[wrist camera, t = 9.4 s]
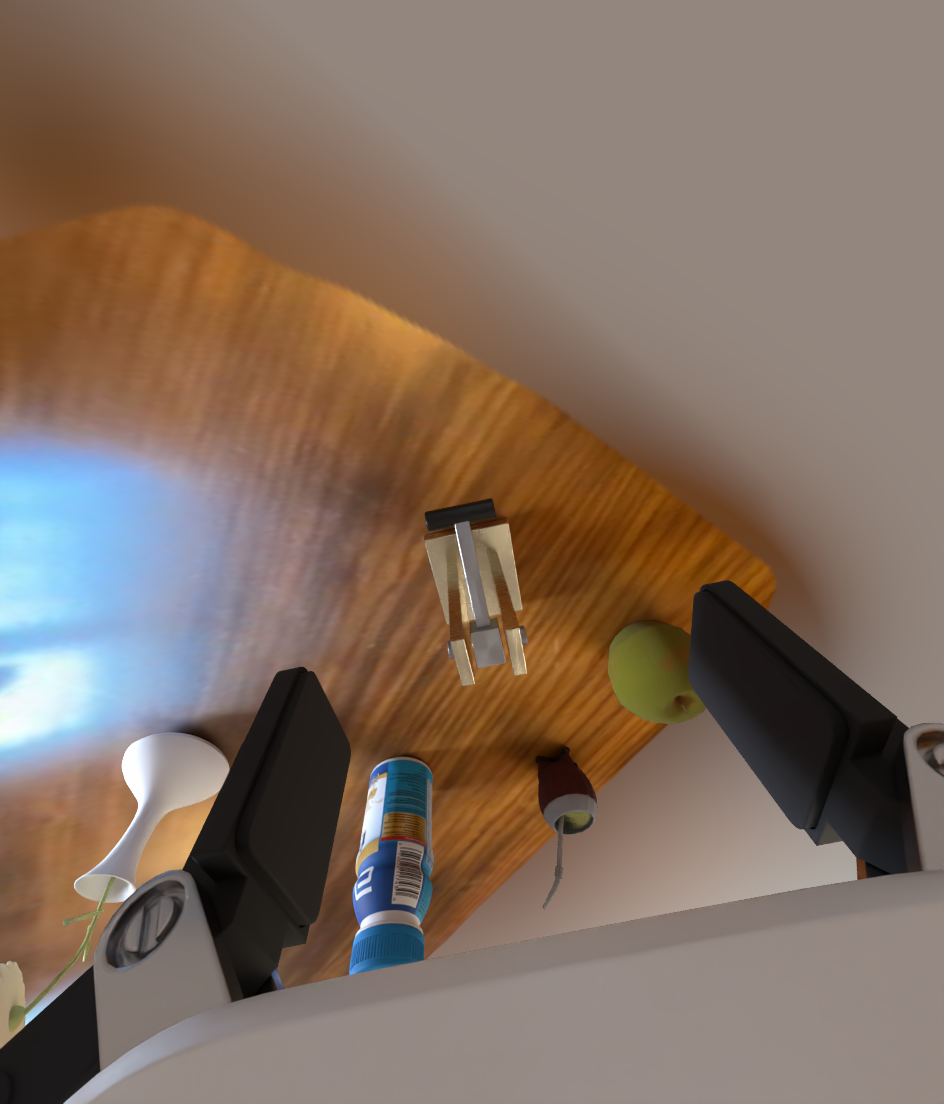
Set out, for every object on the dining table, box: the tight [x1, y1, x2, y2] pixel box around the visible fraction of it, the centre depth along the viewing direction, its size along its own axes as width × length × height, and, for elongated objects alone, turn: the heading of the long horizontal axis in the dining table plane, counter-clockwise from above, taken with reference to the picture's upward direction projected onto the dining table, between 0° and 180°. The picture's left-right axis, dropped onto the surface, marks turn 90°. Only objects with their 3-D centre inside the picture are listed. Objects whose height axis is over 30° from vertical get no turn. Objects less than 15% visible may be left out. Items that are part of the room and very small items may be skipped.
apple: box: [608, 620, 706, 724], centre depth 43 cm, size 10×10×11 cm
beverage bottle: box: [349, 757, 434, 975], centre depth 46 cm, size 8×8×20 cm
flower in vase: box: [0, 732, 230, 1049], centre depth 39 cm, size 13×11×25 cm
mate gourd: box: [536, 747, 598, 909], centre depth 50 cm, size 8×8×15 cm
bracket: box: [424, 519, 527, 686], centre depth 36 cm, size 10×8×13 cm
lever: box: [425, 498, 506, 668], centre depth 31 cm, size 12×5×2 cm, turn 11°
